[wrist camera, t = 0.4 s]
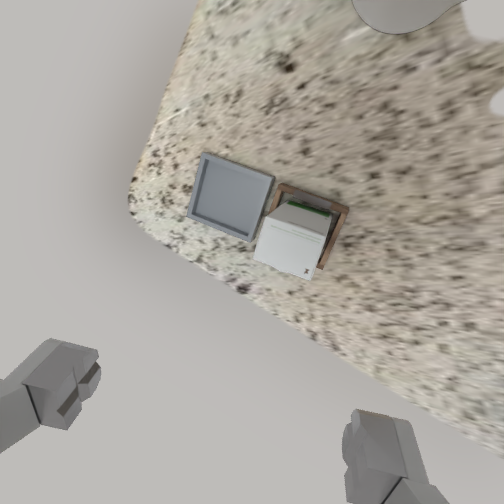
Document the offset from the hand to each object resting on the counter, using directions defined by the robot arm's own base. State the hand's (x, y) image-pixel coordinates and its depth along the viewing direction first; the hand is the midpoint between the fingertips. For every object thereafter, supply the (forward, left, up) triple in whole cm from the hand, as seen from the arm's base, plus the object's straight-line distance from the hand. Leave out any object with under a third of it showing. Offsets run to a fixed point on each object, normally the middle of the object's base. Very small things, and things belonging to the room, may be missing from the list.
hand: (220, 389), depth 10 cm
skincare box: (+5, -1, -45) cm, 45 cm away
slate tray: (+5, -14, -45) cm, 47 cm away
